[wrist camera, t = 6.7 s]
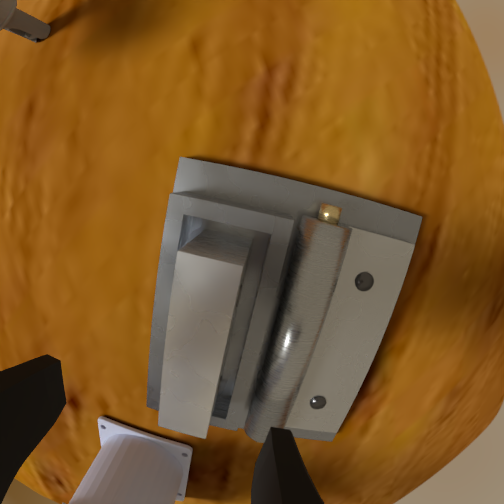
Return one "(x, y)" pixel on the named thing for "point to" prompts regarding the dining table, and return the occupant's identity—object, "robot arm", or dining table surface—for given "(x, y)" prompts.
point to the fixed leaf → (289, 294)
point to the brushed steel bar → (200, 328)
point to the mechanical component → (21, 22)
